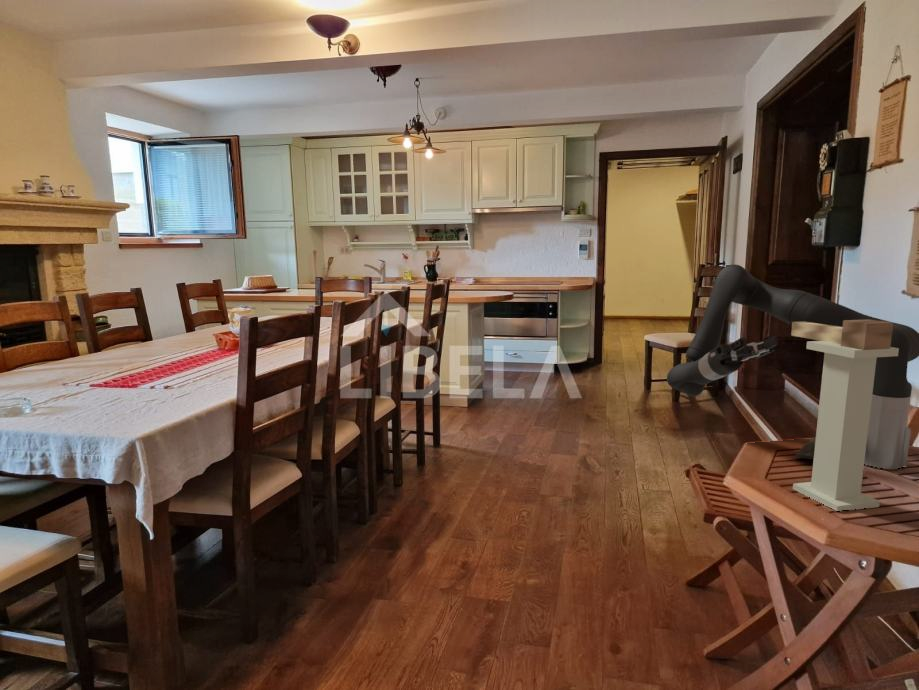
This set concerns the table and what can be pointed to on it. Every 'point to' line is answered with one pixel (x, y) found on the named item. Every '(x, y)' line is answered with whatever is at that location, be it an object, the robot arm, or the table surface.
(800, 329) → the mallet
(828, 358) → the stand
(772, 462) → the table surface
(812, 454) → the decorative stone
